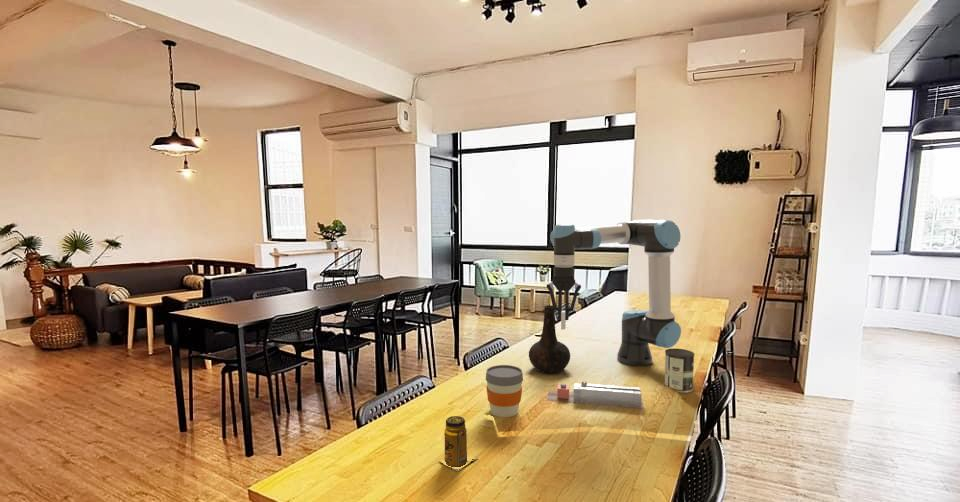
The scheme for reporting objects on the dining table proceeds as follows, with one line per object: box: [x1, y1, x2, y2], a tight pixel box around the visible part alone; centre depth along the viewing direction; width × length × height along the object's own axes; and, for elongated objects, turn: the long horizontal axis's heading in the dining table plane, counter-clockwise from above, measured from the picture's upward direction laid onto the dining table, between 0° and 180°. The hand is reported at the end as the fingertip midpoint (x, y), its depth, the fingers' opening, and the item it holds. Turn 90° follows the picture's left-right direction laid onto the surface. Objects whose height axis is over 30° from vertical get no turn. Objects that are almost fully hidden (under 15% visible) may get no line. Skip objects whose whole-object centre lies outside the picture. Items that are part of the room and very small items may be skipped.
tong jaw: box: [581, 381, 642, 393], centre depth 159 cm, size 2×20×6 cm, turn 78°
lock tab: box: [556, 383, 570, 399], centre depth 162 cm, size 4×4×4 cm
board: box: [546, 390, 645, 410], centre depth 160 cm, size 9×33×1 cm, turn 76°
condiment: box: [443, 415, 479, 472], centre depth 123 cm, size 7×8×12 cm
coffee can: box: [664, 347, 695, 394], centre depth 173 cm, size 10×10×14 cm
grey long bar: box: [573, 382, 643, 409], centre depth 158 cm, size 5×23×5 cm, turn 76°
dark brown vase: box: [528, 304, 571, 374], centre depth 193 cm, size 18×18×28 cm
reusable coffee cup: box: [485, 364, 524, 418], centre depth 151 cm, size 13×13×15 cm
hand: (563, 328), depth 168 cm, fingers closed
